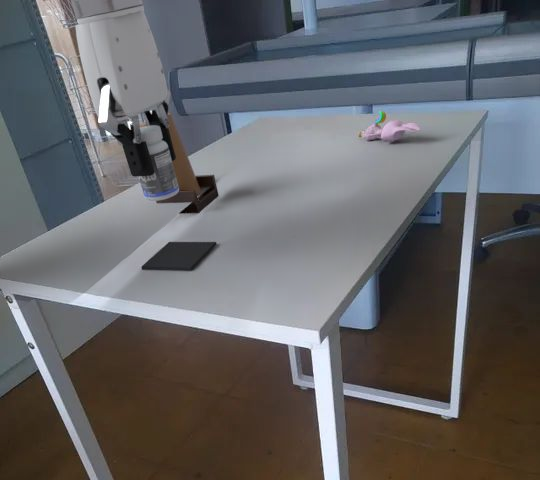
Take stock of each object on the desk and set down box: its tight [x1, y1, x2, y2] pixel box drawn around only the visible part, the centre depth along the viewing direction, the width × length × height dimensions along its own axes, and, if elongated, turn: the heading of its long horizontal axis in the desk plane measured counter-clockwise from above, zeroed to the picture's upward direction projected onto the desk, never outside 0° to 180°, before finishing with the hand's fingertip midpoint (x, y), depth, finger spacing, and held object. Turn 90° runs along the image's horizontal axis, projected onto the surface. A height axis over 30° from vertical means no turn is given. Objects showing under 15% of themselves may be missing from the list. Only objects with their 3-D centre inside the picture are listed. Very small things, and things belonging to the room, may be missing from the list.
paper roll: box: [139, 112, 203, 200], centre depth 92 cm, size 14×6×6 cm
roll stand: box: [155, 174, 219, 215], centre depth 95 cm, size 8×8×4 cm
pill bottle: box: [137, 125, 179, 202], centre depth 70 cm, size 5×5×8 cm
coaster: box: [141, 241, 217, 272], centre depth 78 cm, size 8×8×1 cm
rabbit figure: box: [357, 110, 422, 144], centre depth 105 cm, size 6×6×15 cm
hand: (154, 166), depth 71 cm, fingers closed on pill bottle, 4 cm apart
